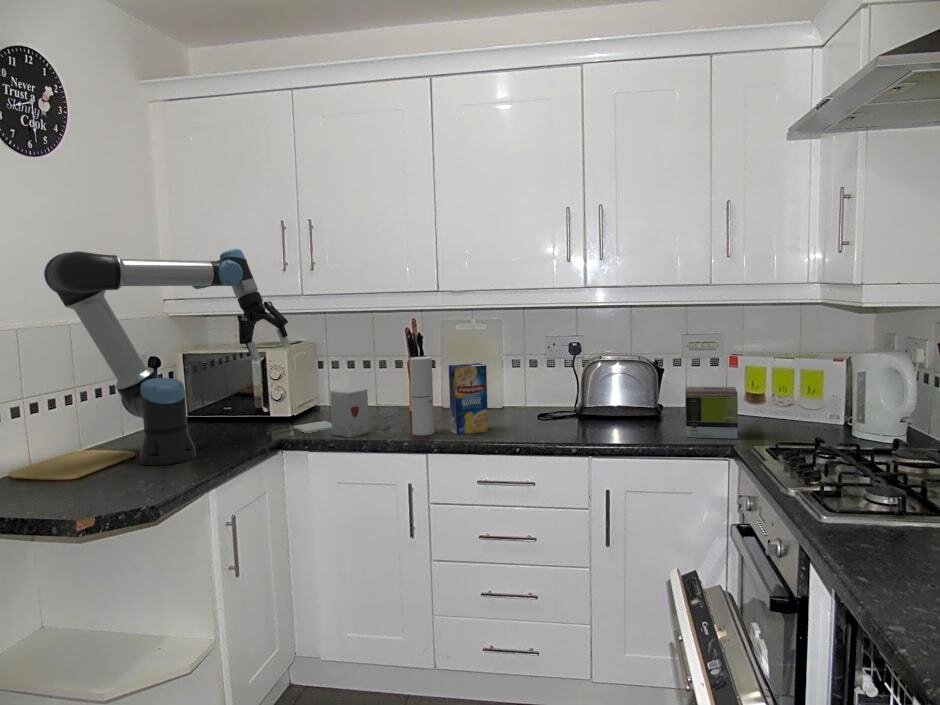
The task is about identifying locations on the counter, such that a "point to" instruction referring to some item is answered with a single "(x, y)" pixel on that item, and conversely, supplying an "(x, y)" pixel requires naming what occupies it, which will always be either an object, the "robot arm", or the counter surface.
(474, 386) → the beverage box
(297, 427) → the pad
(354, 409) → the supplement box
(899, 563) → the counter surface
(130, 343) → the robot arm
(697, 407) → the tea box
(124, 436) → the counter surface
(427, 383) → the cylindrical container
